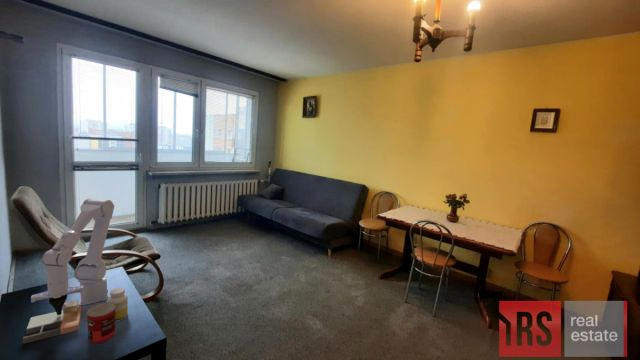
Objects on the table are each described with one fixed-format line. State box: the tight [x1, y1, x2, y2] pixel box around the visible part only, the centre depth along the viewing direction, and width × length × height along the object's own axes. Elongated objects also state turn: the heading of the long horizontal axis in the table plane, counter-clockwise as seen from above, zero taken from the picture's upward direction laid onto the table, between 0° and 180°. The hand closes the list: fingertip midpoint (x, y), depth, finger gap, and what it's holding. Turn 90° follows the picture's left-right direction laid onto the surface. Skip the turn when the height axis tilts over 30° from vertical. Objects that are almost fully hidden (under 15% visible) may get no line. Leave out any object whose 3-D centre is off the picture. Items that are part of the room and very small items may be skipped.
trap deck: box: [22, 306, 82, 345], centre depth 107 cm, size 14×14×2 cm
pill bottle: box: [107, 287, 129, 323], centre depth 113 cm, size 6×6×12 cm
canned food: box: [86, 302, 116, 344], centre depth 103 cm, size 8×8×11 cm
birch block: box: [62, 300, 79, 318], centre depth 111 cm, size 4×4×4 cm
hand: (59, 313), depth 109 cm, fingers closed
